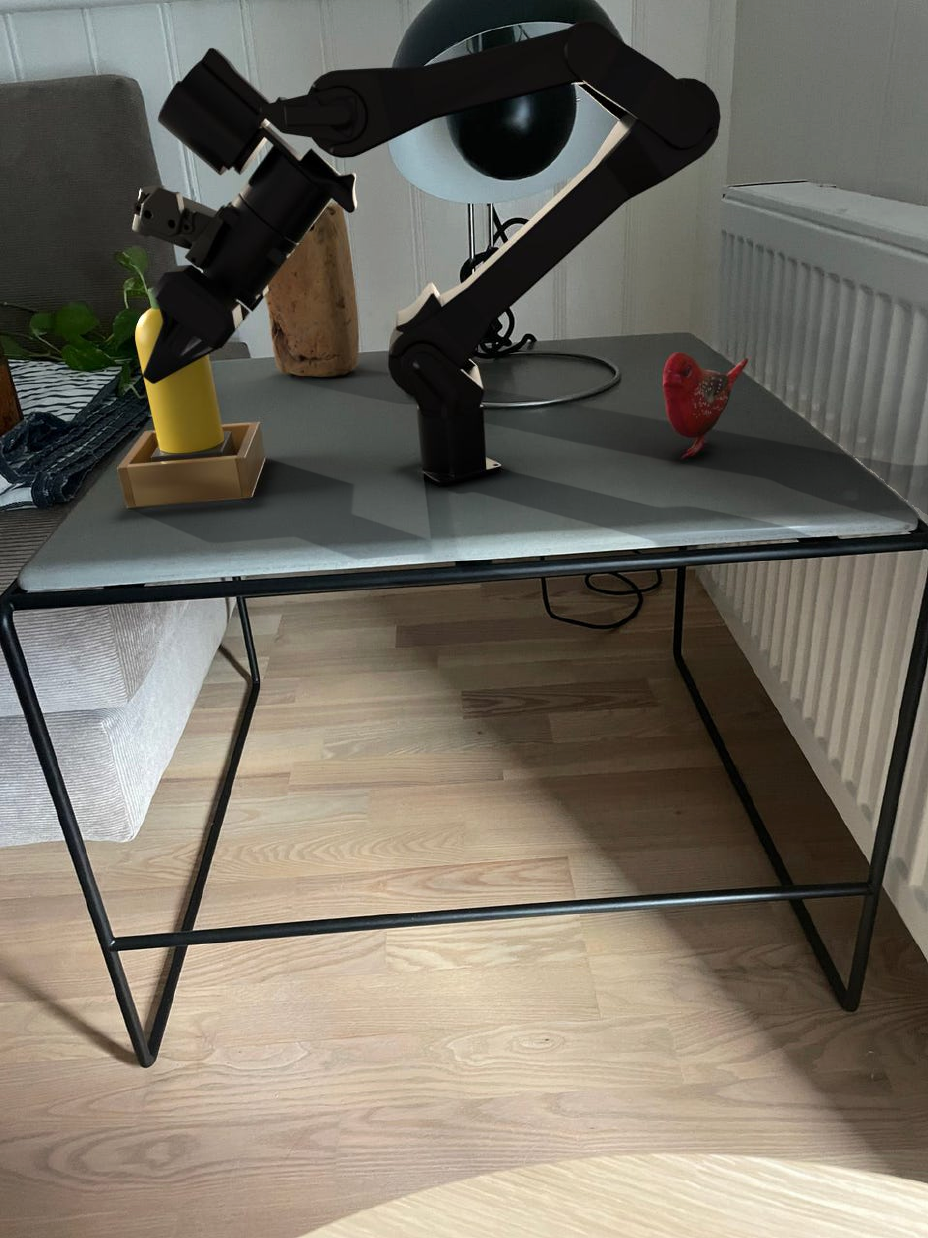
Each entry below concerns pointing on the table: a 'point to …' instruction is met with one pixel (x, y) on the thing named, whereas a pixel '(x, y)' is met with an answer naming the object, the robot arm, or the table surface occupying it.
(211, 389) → the lemon bottle
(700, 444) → the decorative bird figurine
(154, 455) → the grey block
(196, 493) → the crate
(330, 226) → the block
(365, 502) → the table surface
